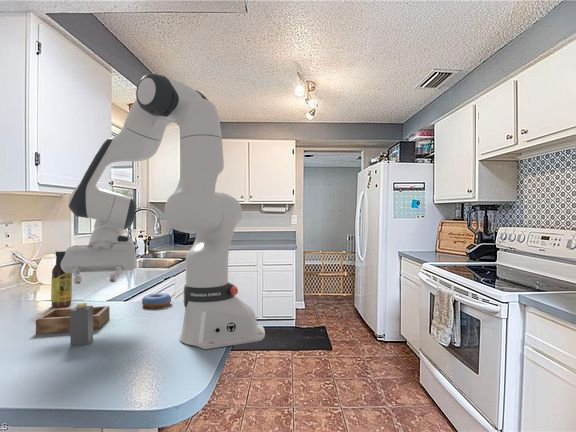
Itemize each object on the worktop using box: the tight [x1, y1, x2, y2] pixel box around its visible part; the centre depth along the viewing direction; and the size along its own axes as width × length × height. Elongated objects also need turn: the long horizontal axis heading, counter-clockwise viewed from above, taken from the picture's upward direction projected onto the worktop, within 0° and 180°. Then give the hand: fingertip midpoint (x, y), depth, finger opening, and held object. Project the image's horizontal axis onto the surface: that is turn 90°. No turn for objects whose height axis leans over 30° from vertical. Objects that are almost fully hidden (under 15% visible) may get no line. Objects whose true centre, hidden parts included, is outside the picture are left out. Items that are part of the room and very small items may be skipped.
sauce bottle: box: [50, 250, 73, 308], centre depth 128 cm, size 7×6×20 cm
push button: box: [69, 302, 94, 347], centre depth 91 cm, size 4×4×10 cm
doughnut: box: [141, 292, 172, 309], centre depth 128 cm, size 10×10×5 cm
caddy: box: [35, 305, 111, 335], centre depth 105 cm, size 16×11×4 cm
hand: (95, 281), depth 101 cm, fingers open, 8 cm apart
